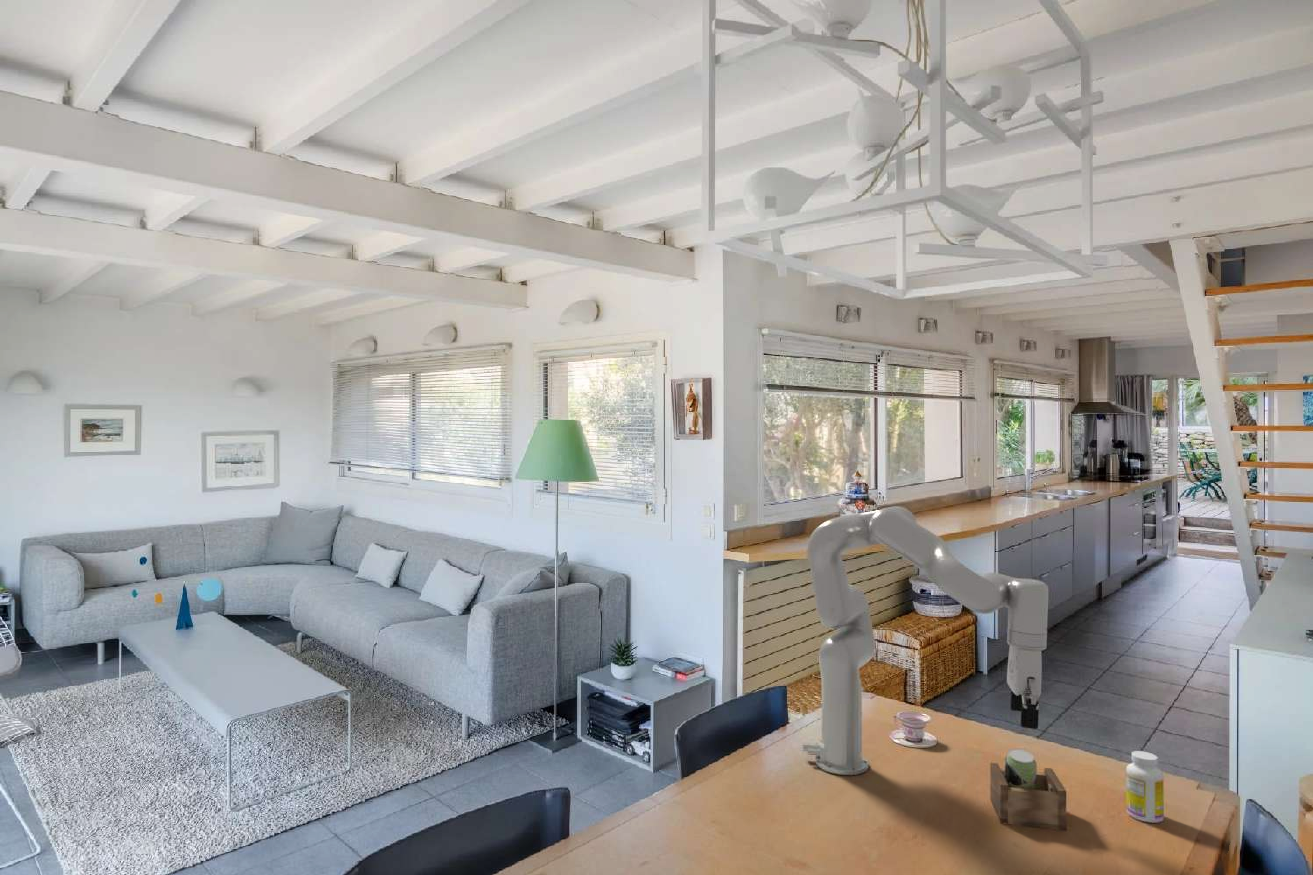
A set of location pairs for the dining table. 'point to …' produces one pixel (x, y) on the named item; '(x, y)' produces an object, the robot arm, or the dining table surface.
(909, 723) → the teacup
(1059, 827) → the holder
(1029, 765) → the beverage can
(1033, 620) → the robot arm
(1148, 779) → the supplement bottle
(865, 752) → the dining table surface
